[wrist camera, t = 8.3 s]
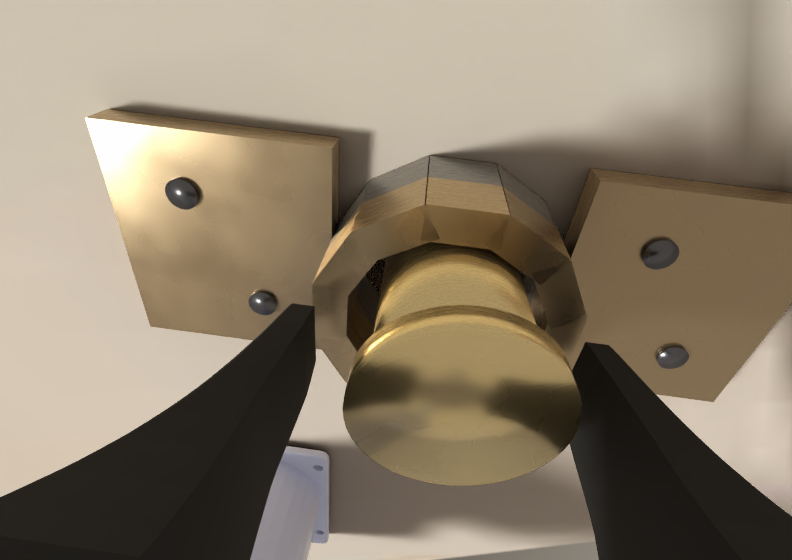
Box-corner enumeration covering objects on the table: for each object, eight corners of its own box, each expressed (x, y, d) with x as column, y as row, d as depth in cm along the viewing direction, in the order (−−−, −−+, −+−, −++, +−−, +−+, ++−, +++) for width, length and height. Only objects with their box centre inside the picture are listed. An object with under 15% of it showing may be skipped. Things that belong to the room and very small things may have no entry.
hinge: (700, 382, 17) (750, 461, 14) (163, 310, 18) (110, 373, 15) (836, 198, 13) (948, 261, 10) (107, 109, 13) (13, 144, 10)
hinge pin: (503, 315, 16) (543, 495, 11) (372, 301, 16) (341, 473, 11) (539, 192, 14) (620, 347, 8) (380, 175, 14) (345, 318, 8)
